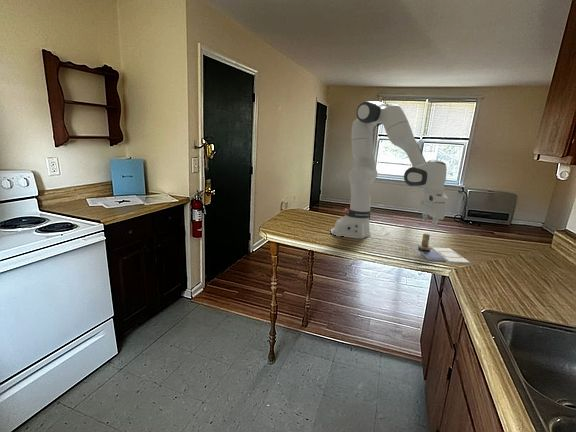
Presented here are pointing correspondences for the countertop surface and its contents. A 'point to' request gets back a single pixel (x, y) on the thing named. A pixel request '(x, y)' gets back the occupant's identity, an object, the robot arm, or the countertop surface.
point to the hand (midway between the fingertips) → (429, 224)
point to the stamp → (425, 243)
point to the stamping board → (441, 255)
